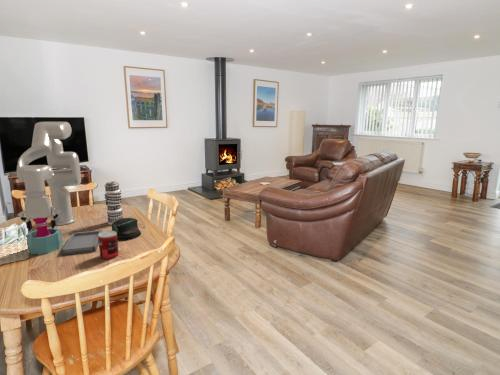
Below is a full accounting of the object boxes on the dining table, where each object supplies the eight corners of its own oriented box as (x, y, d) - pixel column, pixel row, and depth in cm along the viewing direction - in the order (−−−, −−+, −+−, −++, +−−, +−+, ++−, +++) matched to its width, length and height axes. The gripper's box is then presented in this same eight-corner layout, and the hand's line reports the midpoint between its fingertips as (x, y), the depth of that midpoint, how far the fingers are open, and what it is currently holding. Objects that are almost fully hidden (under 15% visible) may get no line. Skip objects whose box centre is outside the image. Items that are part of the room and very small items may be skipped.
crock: (34, 244, 153) (31, 229, 151) (64, 241, 157) (62, 226, 155) (23, 256, 141) (20, 240, 139) (57, 252, 145) (54, 236, 143)
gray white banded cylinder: (127, 221, 187) (123, 181, 181) (114, 226, 179) (110, 184, 174) (117, 218, 191) (113, 180, 186) (104, 223, 183) (99, 183, 178)
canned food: (104, 252, 145) (101, 230, 142) (121, 251, 146) (119, 230, 143) (97, 259, 137) (94, 237, 135) (115, 259, 138) (113, 236, 136)
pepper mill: (57, 246, 151) (51, 207, 146) (43, 252, 144) (37, 212, 140) (46, 244, 153) (40, 206, 149) (32, 250, 147) (25, 210, 142)
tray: (73, 237, 162) (72, 233, 161) (102, 234, 166) (101, 230, 166) (62, 255, 142) (61, 250, 141) (95, 251, 146) (95, 246, 145)
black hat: (138, 243, 156) (136, 226, 154) (98, 243, 155) (96, 226, 153) (149, 229, 175) (147, 213, 173) (113, 229, 175) (112, 214, 173)
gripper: (11, 197, 137) (17, 233, 141) (55, 194, 142) (60, 229, 146) (18, 193, 143) (24, 227, 147) (59, 191, 149) (64, 224, 153)
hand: (42, 228), depth 147 cm, fingers open, 9 cm apart
